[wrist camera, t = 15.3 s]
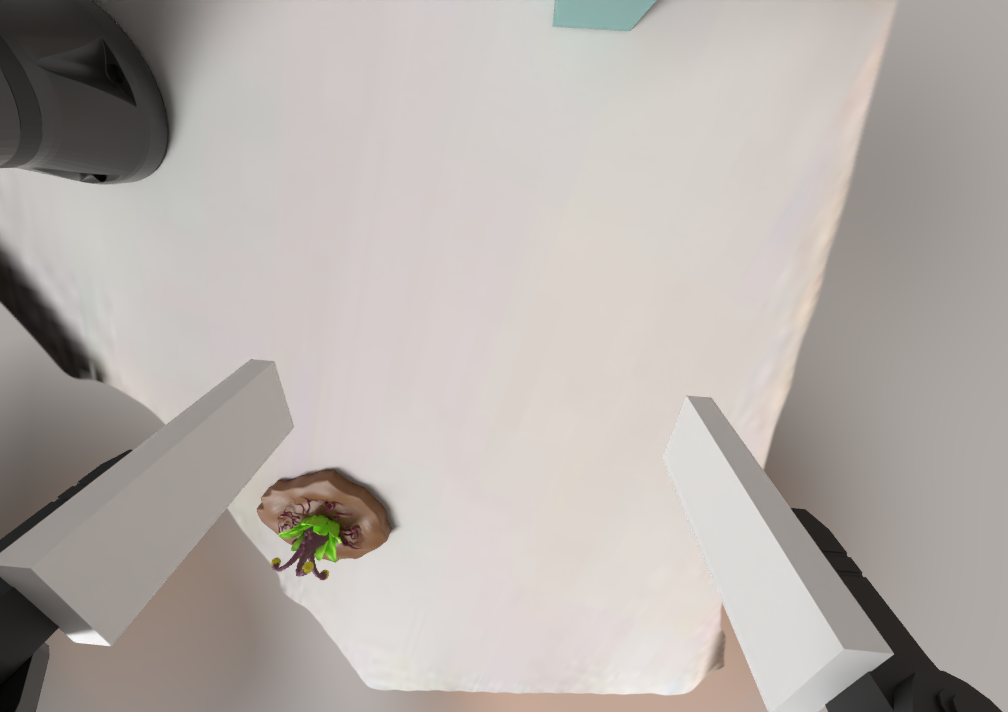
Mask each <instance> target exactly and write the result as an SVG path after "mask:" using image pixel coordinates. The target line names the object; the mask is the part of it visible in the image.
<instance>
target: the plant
mask: <svg viewBox="0 0 1008 712" xmlns="http://www.w3.org/2000/svg"><path fill="white" fill-rule="evenodd" d="M261 501H262V503H261V504H260V505H259V507H258V508H257V512H258V515H259V517H260V519H261V521H262V522H263V523H264V524H265V525H267V526H268V527H269V528H271V529H272V530H273V531H274V532H275V533H277V534H278V536H279V537H281V538H282V539H283V540H284V541H286V542H287V543H289V544H291V545H293V546H292V548H291V550H292V551H296V552H295V554H294V555H293V557H292V558H291V559H290V560H289V561H288V562H287V563H286V564H285V565H284V566H281V567H280V568H279V565H280V563H281V560H280V559H279V558H275V559H273V560H272V562H271V566H272V568H273V569H274V570H276V571H278V572H279V571H282V570H284V569H286V568H288V567H289V566H290V565H292V564H293V563H294V562H295V561H296V560H297V559H300V560H299V562H298V564H297V569H296V576H304V575H307V573H310V572H311V571H312V572H313V574H315V576H316V577H318V578H320V580H325V579H327V578H328V576H329V572H328V571H327V570H323V571H322V572H321V573H319V572H318V570H317V568H316V564H315V560H314V558H315V557H316V559H317V560H318V561H320V560H321V559H326V560H330V561H333V562H335V563H336V562H337V561H338V560H339V559H345V558H353V559H357V558H360V557H362V556H363V555H365V554H366V553H368V552H370V551H373V550H375V549H376V548H378V547H380V546H381V545H382V544H383V543H385V542H386V541H387V539H388V537H389V534H390V531H391V527H390V524H389V522H388V520H387V517H386V511H385V509H384V508H383V506H382V505H381V503H380V502H378V501H377V500H376V499H375V498H374V497H373V496H372V494H371V493H370V492H369V491H368V490H367V489H365V488H363V487H361V486H358V485H355V484H353V483H351V482H349V481H348V480H346V479H345V478H344V477H342V476H341V475H339V474H338V473H337V472H336V471H335V470H323V471H319V472H317V473H315V474H311V475H302V476H300V477H298V478H295V479H293V480H290V481H282V480H278V481H277V482H276V483H275V485H274V486H272V487H269V488H268V489H267V491H266V492H265V493H264V495H263V496H262V497H261ZM314 556H315V557H314ZM307 559H308V560H309V562H306V561H307ZM304 563H305V564H304Z"/></svg>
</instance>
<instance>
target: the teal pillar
mask: <svg viewBox="0 0 1008 712" xmlns="http://www.w3.org/2000/svg"><path fill="white" fill-rule="evenodd" d="M656 1H657V0H555V9H554V19H553V27H570V28H587V29H603V30H620V31H630V30H631V29H632V28H633V27H634V26H635V24H636V23H637V22H638V21H639V20H640V19H641V18H642V17H643V15H644V14H645V13H646V12H647V11H648V10H649V9H650V7H651V6H652V5H653V4H654V3H655V2H656Z"/></svg>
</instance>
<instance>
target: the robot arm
mask: <svg viewBox="0 0 1008 712" xmlns="http://www.w3.org/2000/svg"><path fill="white" fill-rule="evenodd" d="M167 135H168V131H167V119H166V113H165V109H164V105H163V101H162V98H161V95H160V92H159V89H158V87H157V84H156V82H155V80H154V78H153V76H152V73H151V72H150V70H149V68H148V66H147V64H146V62H145V61H144V59H143V57H142V56H141V54H140V53H139V51H138V50H137V48H136V47H135V45H134V44H133V43H132V41H131V40H130V39H129V37H128V36H127V35H126V34H125V32H124V31H123V30H122V29H121V28H120V27H119V26H118V25H117V23H116V22H115V21H114V20H113V19H112V18H111V17H110V16H109V15H108V14H107V13H106V12H105V11H103V10H102V9H101V8H100V7H99V6H98V5H96V4H95V3H94V2H93V1H91V0H0V168H20V169H25V170H29V171H34V172H39V173H43V174H48V175H53V176H57V177H62V178H67V179H71V180H76V181H81V182H86V183H92V184H118V183H129V182H135V181H139V180H141V179H144V178H146V177H147V176H149V175H150V174H151V173H153V172H154V171H155V170H156V169H157V167H158V166H159V164H160V163H161V161H162V159H163V156H164V154H165V150H166V146H167ZM293 428H294V425H293V422H292V418H291V415H290V412H289V408H288V405H287V402H286V398H285V395H284V392H283V388H282V385H281V382H280V378H279V375H278V372H277V369H276V365H275V362H274V361H265V360H253V359H251V360H249V361H248V362H247V363H246V364H244V365H243V366H242V367H240V368H239V369H238V370H237V371H235V372H234V373H233V374H231V375H230V376H229V377H227V378H226V379H225V380H224V381H222V382H221V383H220V384H218V385H217V386H216V387H214V388H213V389H212V390H211V391H209V392H208V393H207V394H205V395H204V396H203V397H202V398H200V399H199V400H198V401H196V402H195V403H194V404H192V405H191V406H190V407H189V408H187V409H186V410H185V411H183V412H182V413H181V414H179V415H178V416H177V417H176V418H174V419H173V420H172V421H170V422H169V423H168V424H167V425H165V426H164V427H163V428H161V429H160V430H159V431H157V432H156V433H155V434H154V435H152V436H151V437H150V438H148V439H147V440H146V441H145V442H143V443H142V444H141V445H139V446H138V447H137V448H135V449H134V450H128V451H126V452H124V453H122V454H121V455H119V456H117V457H115V458H113V459H111V460H109V461H107V462H105V463H103V464H101V465H100V466H99V467H97V468H96V469H95V470H93V471H92V472H90V473H89V474H88V475H86V476H85V477H84V478H82V479H81V480H80V481H78V482H77V485H76V486H72V487H70V488H69V489H68V490H66V491H65V492H64V493H62V494H61V495H60V496H58V497H57V499H56V501H55V502H50V503H49V504H48V505H46V506H45V507H44V508H42V509H41V510H40V511H38V512H37V513H36V514H34V515H33V516H31V517H30V518H29V519H27V520H26V521H25V522H23V523H22V524H21V525H20V526H18V527H17V528H15V529H14V530H13V531H11V532H10V533H9V534H7V535H6V536H5V537H4V538H2V539H1V540H0V712H36V709H37V705H38V701H39V696H40V692H41V688H42V684H43V680H44V676H45V672H46V668H47V664H48V660H49V646H48V645H47V644H46V643H45V641H46V640H47V639H48V638H49V637H50V636H51V635H52V634H53V633H54V632H55V631H56V630H57V629H58V628H59V629H60V630H62V631H63V632H64V633H65V634H66V635H67V636H68V637H69V638H71V639H72V640H73V641H74V642H77V643H86V644H96V645H106V646H112V645H113V644H114V642H115V641H116V640H117V639H118V638H119V636H120V635H121V634H122V633H123V632H124V630H125V629H126V628H127V627H128V626H129V624H130V623H131V622H132V621H133V620H134V618H135V617H136V616H137V614H139V612H140V611H141V610H142V609H143V607H144V606H145V605H146V604H147V603H148V601H149V600H150V599H151V598H152V597H153V596H154V594H155V593H156V592H157V591H158V590H159V588H160V587H161V586H162V585H163V584H164V582H165V581H166V580H167V579H168V578H169V576H170V575H171V574H172V573H173V572H174V570H175V569H176V568H177V567H178V566H179V564H180V563H181V562H182V561H183V560H184V558H185V557H186V556H187V555H188V554H189V552H190V551H191V550H192V549H193V548H194V546H195V545H196V544H197V543H198V541H199V540H200V539H201V538H202V537H203V535H204V534H205V533H206V532H207V531H208V530H209V528H210V527H211V526H212V525H213V524H214V522H215V521H216V520H217V519H218V518H219V516H220V515H221V514H222V513H223V512H224V510H225V509H226V508H227V507H228V506H229V504H230V503H231V502H232V501H233V500H234V498H235V497H236V496H237V495H238V494H239V492H240V491H241V490H242V489H243V488H244V486H245V485H246V484H247V483H248V482H249V480H250V479H251V478H252V477H253V476H254V474H255V473H256V472H257V471H258V470H259V468H260V467H261V466H262V465H263V464H264V462H265V461H266V460H267V459H268V458H269V456H270V455H271V454H272V453H273V452H274V451H275V449H276V448H277V447H278V446H279V445H280V443H281V442H282V441H283V440H284V439H285V437H286V436H287V435H288V434H289V433H290V431H291V430H292V429H293ZM662 460H663V462H664V464H665V467H666V469H667V472H668V474H669V476H670V479H671V481H672V483H673V486H674V488H675V491H676V493H677V495H678V498H679V500H680V503H681V505H682V507H683V510H684V512H685V515H686V517H687V519H688V522H689V524H690V526H691V529H692V531H693V534H694V536H695V538H696V541H697V543H698V546H699V548H700V550H701V553H702V555H703V557H704V560H705V562H706V565H707V567H708V569H709V572H710V574H711V577H712V579H713V581H714V584H715V586H716V589H717V591H718V593H719V596H720V598H721V600H722V603H723V605H724V608H725V610H726V612H727V615H728V617H729V620H730V622H731V624H732V627H733V629H734V631H735V634H736V636H737V639H738V641H739V643H740V646H741V648H742V650H743V653H744V655H745V658H746V660H747V662H748V665H749V667H750V669H751V672H752V674H753V677H754V679H755V682H756V684H757V686H758V689H759V691H760V694H761V696H762V698H763V701H764V703H765V705H766V708H767V710H768V712H818V711H820V710H821V709H822V708H824V707H825V706H826V708H827V710H828V712H1002V711H1001V710H1000V709H999V708H998V707H997V706H996V705H995V704H994V703H993V702H992V701H991V700H990V699H988V698H987V697H985V696H984V695H983V694H981V693H980V692H979V691H977V690H976V689H975V688H973V687H972V686H970V685H969V684H968V683H966V682H964V681H962V680H961V679H958V678H957V677H955V676H952V675H951V674H948V673H947V672H944V671H940V670H939V669H938V668H937V667H936V666H935V665H934V663H933V662H932V661H931V660H930V659H929V658H928V657H927V655H926V654H925V653H924V652H923V650H922V649H921V648H920V646H919V645H918V644H917V642H916V641H915V640H914V639H913V637H912V636H911V635H910V634H909V632H908V631H907V630H906V628H905V627H904V626H903V624H902V623H901V622H900V621H899V619H898V618H897V617H896V615H895V614H894V613H893V612H892V610H891V609H890V608H889V606H888V605H887V604H886V602H885V601H884V600H883V599H882V597H881V596H880V595H879V593H878V592H877V591H876V590H875V588H874V587H873V586H872V584H871V583H870V582H869V581H868V579H867V578H866V577H863V576H862V572H861V570H860V569H859V568H858V566H857V565H856V564H855V562H854V561H853V560H852V559H851V558H850V557H848V556H847V552H846V551H845V550H844V548H843V547H842V546H841V544H840V543H839V542H838V540H837V539H836V538H835V537H834V535H833V534H832V533H831V532H830V530H829V529H828V528H827V527H825V526H824V525H823V524H822V523H821V522H820V521H818V520H817V519H816V518H815V517H814V516H813V515H811V514H810V513H809V512H808V511H806V510H805V509H796V508H790V507H789V506H788V504H787V503H786V502H785V500H784V499H783V497H782V496H781V495H780V493H779V492H778V490H777V489H776V487H775V486H774V485H773V483H772V482H771V481H770V479H769V478H768V476H767V475H766V473H765V472H764V471H763V469H762V468H761V466H760V465H759V464H758V462H757V461H756V459H755V458H754V457H753V455H752V454H751V452H750V451H749V450H748V448H747V447H746V445H745V444H744V443H743V441H742V440H741V438H740V437H739V436H738V434H737V433H736V431H735V430H734V429H733V427H732V426H731V424H730V423H729V422H728V420H727V419H726V417H725V416H724V415H723V413H722V412H721V410H720V409H719V408H718V406H717V405H716V403H715V402H714V401H713V399H712V398H708V397H696V396H686V399H685V402H684V404H683V407H682V409H681V412H680V415H679V417H678V420H677V422H676V425H675V428H674V430H673V433H672V435H671V438H670V441H669V443H668V446H667V449H666V451H665V454H664V456H663V459H662Z"/></svg>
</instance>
